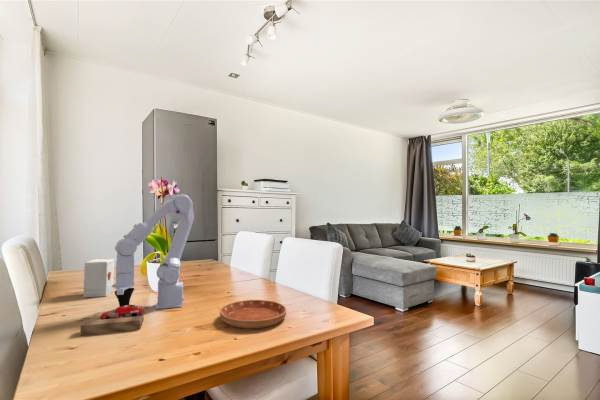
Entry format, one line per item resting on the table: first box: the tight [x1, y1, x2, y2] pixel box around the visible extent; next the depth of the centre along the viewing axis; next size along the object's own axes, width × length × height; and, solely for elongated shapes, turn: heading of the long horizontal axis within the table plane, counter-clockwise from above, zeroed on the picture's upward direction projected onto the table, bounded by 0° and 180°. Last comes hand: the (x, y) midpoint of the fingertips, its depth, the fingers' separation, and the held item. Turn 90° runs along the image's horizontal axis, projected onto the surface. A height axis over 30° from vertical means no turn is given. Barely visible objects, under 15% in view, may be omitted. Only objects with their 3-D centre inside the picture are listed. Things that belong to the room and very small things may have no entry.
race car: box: [99, 304, 145, 320], centre depth 108 cm, size 13×5×4 cm, turn 118°
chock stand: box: [79, 315, 145, 337], centre depth 99 cm, size 16×8×3 cm, turn 108°
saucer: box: [219, 299, 287, 329], centre depth 108 cm, size 23×23×4 cm
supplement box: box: [82, 258, 115, 298], centre depth 136 cm, size 9×9×15 cm
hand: (124, 309), depth 112 cm, fingers closed
